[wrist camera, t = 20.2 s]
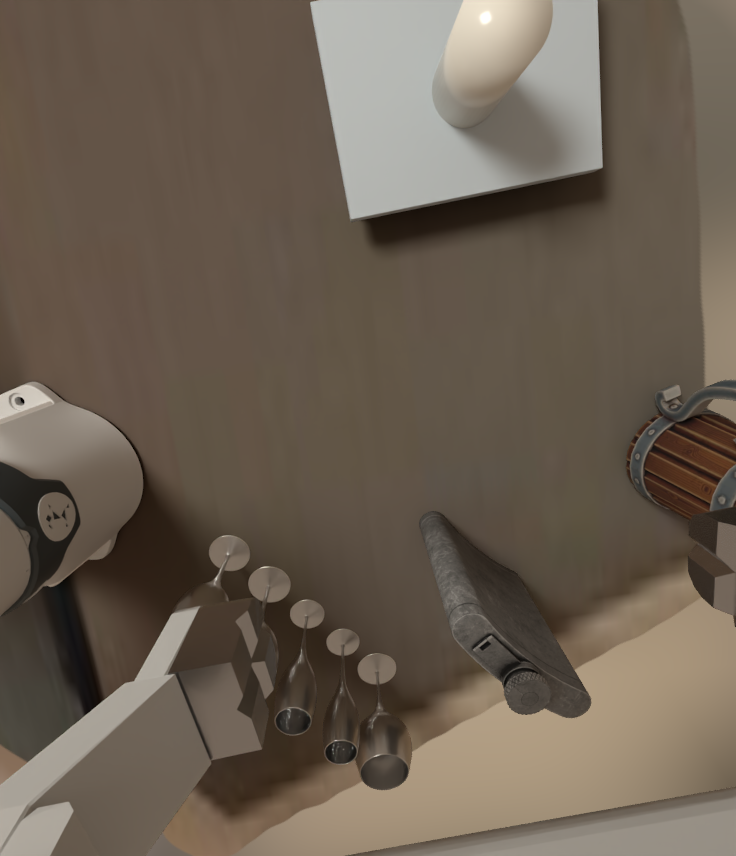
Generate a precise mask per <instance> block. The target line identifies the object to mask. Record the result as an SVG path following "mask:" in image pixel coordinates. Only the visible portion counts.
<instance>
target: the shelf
mask: <svg viewBox="0 0 736 856" xmlns="http://www.w3.org/2000/svg"><path fill="white" fill-rule="evenodd" d="M462 3H463V0H319V1H315V2H310V4H311V11H312V18H313V23H314V29H315V34H316V39H317V45H318V50H319V55H320V61H321V66H322V71H323V77H324V82H325V87H326V93H327V98H328V103H329V109H330V114H331V119H332V125H333V130H334V135H335V141H336V146H337V151H338V157H339V162H340V167H341V173H342V178H343V183H344V189H345V194H346V199H347V205H348V210H349V215H350V221H351V222H355V221H360V220H364V219H369V218H374V217H379V216H384V215H389V214H394V213H398V212H403V211H408V210H413V209H418V208H423V207H428V206H433V205H437V204H442V203H447V202H452V201H457V200H462V199H467V198H471V197H476V196H481V195H486V194H491V193H496V192H501V191H506V190H510V189H515V188H520V187H525V186H530V185H535V184H540V183H544V182H549V181H554V180H559V179H564V178H569V177H574V176H579V175H583V174H588V173H593V172H595V171H597V170H599V169H601V168H603V163H602V131H601V99H600V66H599V34H598V1H597V0H552V3H553V17H552V24H551V29H550V32H549V35H548V37H547V39H546V42H545V43H544V45H543V47H542V49H541V50H540V51H539V53H538V54H537V55H536V56H535V58H534V59H533V60H532V62H531V63H530V64H529V65H528V67H527V68H526V69H525V70H524V72H523V73H522V74H521V75H520V77H519V78H518V79H517V81H516V82H515V83H514V84H513V86H512V87H511V88H510V89H509V91H508V92H507V93H506V95H505V96H504V97H503V98H502V100H501V101H500V102H499V103H498V105H497V106H496V107H495V108H494V110H493V111H492V112H491V114H490V115H489V116H488V117H487V118H486V119H485V120H484V121H483V122H481V123H480V124H478V125H476V126H473V127H470V128H458V127H455V126H452V125H450V124H448V123H447V122H446V121H444V120H443V119H442V118H441V116H440V115H439V114H438V112H437V110H436V108H435V106H434V102H433V98H432V82H433V78H434V74H435V72H436V69H437V67H438V64H439V62H440V59H441V56H442V54H443V51H444V49H445V46H446V44H447V41H448V38H449V36H450V33H451V31H452V28H453V26H454V23H455V21H456V18H457V15H458V13H459V10H460V8H461V5H462Z"/></svg>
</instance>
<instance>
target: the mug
mask: <svg viewBox="0 0 736 856" xmlns="http://www.w3.org/2000/svg"><path fill="white" fill-rule="evenodd" d="M680 395H681V391H680V388H679V385H672V386H669V387H667V388H665V389H662V390H660V391H658V392H657V393H656V394H655V401H656V404H657V406H658V408H659V410H660V411H661V413H659V414H657V415H655V416H654V417H653V418H652V419H651V420H649V421H647V422H646V423H645V424H644V425H643V426H642V427H641V428H640V429H639V431H638V432H637V433H636V434H635V436H634V439H633V440H632V442H631V444H630V446H629V449H628V452H627V457H626V460H627V465H626V469H627V474H628V477H629V479H630V482H632V483H634V487H635V488H636V489H637V490H638V491H639V492H640V493H641V494H642V495H643V496H644V497H646V498H647V499H649V500H651V501H653V502H655V503H656V504H658V505H660V506H662V507H664V508H666V509H669V510H672V511H674V512H676V513H678V514H679V515H681V516H683V517H685V518H687V519H689V520H691V518H692V516H693V515H695V514H699V513H704V512H709V511H714V510H719V509H724V508H729V507H734V506H736V424H735V423H734V422H733V421H731V420H729V419H728V418H726V417H724V416H722V415H720V414H718V413H715V412H713V411H711V410H707V409H705V408H706V407H707V406H708V405H709V403H710V402H711V401H712V400H713V399H726V400H733V401H736V380H724V381H720V382H717V383H715V384H713V385H710V386H708V387H705V388H703V389H701V390H699V391H697V392H695V393H694V394H692V395H691V396H690V397H689V398H688V399H687V401H686V402H685V403H684V405H683V404H681V403H680V402H679V401H678V399H677V396H680Z"/></svg>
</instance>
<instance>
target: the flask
mask: <svg viewBox="0 0 736 856" xmlns="http://www.w3.org/2000/svg"><path fill="white" fill-rule="evenodd" d="M420 529H421V532H422V536H423V539H424V542H425V545H426V549H427V552H428V555H429V559H430V562H431V565H432V569H433V572H434V575H435V579H436V582H437V585H438V589H439V592H440V595H441V599H442V602H443V605H444V609H445V612H446V615H447V619H448V622H449V625H450V628H451V632H452V635H453V637H454V639H455V640H456V641H457V642H458V643H459V645H460V646H461V647H462V648H463V649H464V650H465V651H466V652H467V653H468V654H469V655H470V656H471V657H472V658H473V659H474V660H475V661H476V662H477V663H478V664H480V665H481V666H482V667H483V668H484V669H485V670H486V671H488V672H489V673H490V674H491V675H493V676H494V677H495V678H497V679H498V680H499V681H501V682H502V685H503V687H504V695H505V698H506V701H507V703H508V705H509V708H511V710H513V711H514V712H516V713H518V714H522V715H523V714H525V715H527V714H533V713H536V712H539V711H540V710H543V709H544V708H545V709H547V710H549V711H551V712H554V713H556V714H558V715H560V716H563V717H566V718H575V717H578V716H581V715H583V714H584V713H585V712H586V711H588V709H589V708H590V705H591V698H590V696H589V694H588V692H587V691H586V689H585V687H584V686H583V684H582V682H581V681H580V679H579V677H578V676H577V674H576V672H575V671H574V669H573V667H572V666H571V664H570V662H569V660H568V659H567V657H566V655H565V654H564V652H563V650H562V649H561V647H560V645H559V644H558V642H557V640H556V639H555V637H554V635H553V634H552V632H551V630H550V629H549V627H548V625H547V624H546V622H545V620H544V619H543V617H542V615H541V613H540V612H539V610H538V608H537V607H536V605H535V603H534V602H533V600H532V598H531V597H530V595H529V593H528V592H527V590H526V588H525V587H524V585H523V583H522V582H521V580H520V578H519V577H518V575H517V574H516V573H515V572H514V571H512V570H510V569H508V568H506V567H504V566H502V565H500V564H498V563H497V562H495V561H493V560H492V559H490V558H489V557H487V556H486V555H485V554H483V553H482V552H481V551H479V550H478V549H477V548H475V547H474V546H473V545H472V544H470V543H469V542H468V541H467V540H466V539H465V538H463V537H462V536H461V535H460V534H459V533H458V532H457V531H456V530H455V529H454V528H453V526H452V525H451V524H450V523H449V522H448V521H447V519H446V518H445V517H444V516H443V515H442V514H441V513H439V512H436V511H431V512H428V513H426V514H424V515H423V516H422V518H421V519H420Z"/></svg>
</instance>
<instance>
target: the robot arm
mask: <svg viewBox="0 0 736 856" xmlns="http://www.w3.org/2000/svg"><path fill="white" fill-rule="evenodd" d="M20 397H21V398H23V399H24V401H25V403H22V402H21V400H20ZM142 492H143V474H142V469H141V465H140V462H139V460H138V457H137V455H136V453H135V451H134V449H133V448H132V446H131V445H130V443H129V442H128V440H127V439H126V438H125V437H124V436H123V434H122V433H121V432H120V431H119V430H118V429H116V428H115V427H114V426H113V425H112V424H110V423H109V422H108V421H106V420H105V419H103V418H102V417H100V416H98V415H96V414H94V413H92V412H90V411H88V410H85V409H82V408H80V407H77V406H74V405H71V404H69V403H67V402H65V401H63V400H62V399H61V398H60V397H59V396H57V395H56V394H55V393H54V392H52V391H51V390H50V389H48V388H47V387H45V386H44V385H42V384H40V383H37V382H29V383H26V384H24V385H22V386H19V387H17V388H15V389H12V390H10V391H8V392H5V393H3V394H1V395H0V617H1V616H3V615H6V614H8V613H10V612H11V611H13V610H15V609H16V608H18V607H19V606H20V605H21V604H22V603H24V602H26V601H27V600H29V599H30V598H31V597H32V596H34V595H35V594H36V593H37V592H38V591H39V590H40V589H41V588H42V587H43V586H49V587H52V586H55V585H57V584H59V583H60V582H61V581H63V580H64V579H65V578H66V577H68V576H69V575H70V574H71V573H72V572H74V571H75V570H76V569H77V568H78V567H80V566H81V565H82V564H83V563H84V562H86V561H87V560H98V559H102V558H104V557H105V556H106V555H108V554H109V553H110V552H111V551H112V549H113V547H114V544H115V541H116V538H117V534H118V532H119V530H120V529H121V528H122V526H123V525H124V524H125V523H126V522H127V521H128V520H129V519H130V518H131V517H132V516H133V514H134V513H135V511H136V509H137V508H138V505H139V503H140V500H141V497H142ZM689 536H690V537H691V538H692V539H693V541H694V542H695V543H696V546H695V547H694V548H693V550H692V551H691V553H690V554H689V555H688V572H689V575H690V577H691V580H692V582H693V585H694V587H695V588H696V590H697V591H698V593H699V594H700V595H701V597H702V598H703V599H705V601H707V602H708V603H709V604H710V605H711V606H712V607H713V608H715V609H718V610H720V611H723V612H726V613H728V614H731V615H733V617H734V623H735V627H736V506H734V507H729V508H724V509H719V510H714V511H709V512H704V513H699V514H695V515H693V516H692V518H691V520H690V522H689ZM263 619H264V612H263V609H262V606H261V603H260V600H258V599H257V598H256V597H251V598H245V599H239V600H233V601H227V602H221V603H215V604H209V605H204V606H197V607H192V608H187V609H182V610H178V611H176V612H174V613H173V614H172V615H171V616H170V618H169V620H168V622H167V623H166V625H165V627H164V629H163V631H162V632H161V634H160V636H159V638H158V639H157V641H156V643H155V645H154V647H153V648H152V650H151V652H150V654H149V656H148V657H147V659H146V661H145V663H144V664H143V666H142V668H141V670H140V672H139V673H138V675H137V677H136V679H135V680H134V681H133V682H128V683H125V684H123V685H122V686H121V687H120V688H118V689H117V690H116V691H115V692H114V693H112V694H111V695H110V696H109V697H107V698H106V699H105V700H104V701H103V702H101V703H100V704H99V705H98V706H96V707H95V708H94V709H93V710H92V711H90V712H89V713H88V714H87V715H85V716H84V717H83V718H82V719H81V720H79V721H78V722H77V723H76V724H74V725H73V726H72V727H71V728H70V729H68V730H67V731H66V732H65V733H63V734H62V735H61V736H60V737H59V738H57V739H56V740H55V741H54V742H52V743H51V744H50V745H49V746H47V747H46V748H45V749H44V750H43V751H41V752H40V753H39V754H38V755H36V756H35V757H34V758H33V759H32V760H30V761H29V762H28V763H27V764H25V765H24V766H23V767H22V768H21V769H19V770H18V771H17V772H16V773H14V774H13V775H12V776H11V777H10V778H8V779H7V780H6V781H5V782H4V783H2V784H1V785H0V856H146V855H147V853H148V852H149V850H150V849H151V848H152V846H153V845H154V843H155V842H156V840H157V839H158V838H159V836H160V835H161V834H162V832H163V831H164V829H165V828H166V827H167V825H168V824H169V822H170V821H171V820H172V818H173V817H174V815H175V814H176V813H177V811H178V810H179V808H180V807H181V806H182V804H183V803H184V801H185V800H186V799H187V797H188V796H189V794H190V793H191V792H192V790H193V789H194V787H195V786H196V785H197V783H198V782H199V780H200V779H201V778H202V776H203V775H204V773H205V772H206V771H207V769H208V768H209V766H210V765H211V761H210V760H215V759H220V758H224V757H229V756H234V755H238V754H243V753H247V752H252V751H257V750H261V749H262V747H263V741H264V736H265V731H266V726H267V721H268V716H269V710H268V707H267V703H266V700H265V699H266V698H267V697H268V695H269V694H270V693H271V692H272V691H273V690H274V685H275V679H276V654H275V648H274V643H273V640H272V637H271V634H270V633H268V632H267V631H266V630H264V629H263V628H262V623H263ZM347 856H736V787H732V788H726V789H721V790H715V791H709V792H703V793H698V794H693V795H687V796H681V797H675V798H670V799H664V800H658V801H653V802H647V803H641V804H635V805H630V806H624V807H618V808H613V809H608V810H601V811H596V812H590V813H584V814H579V815H573V816H567V817H562V818H556V819H550V820H545V821H539V822H534V823H528V824H522V825H517V826H510V827H505V828H499V829H493V830H488V831H482V832H477V833H471V834H465V835H460V836H454V837H448V838H443V839H437V840H431V841H426V842H420V843H414V844H409V845H403V846H398V847H392V848H386V849H381V850H375V851H370V852H364V853H358V854H353V855H347Z"/></svg>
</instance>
